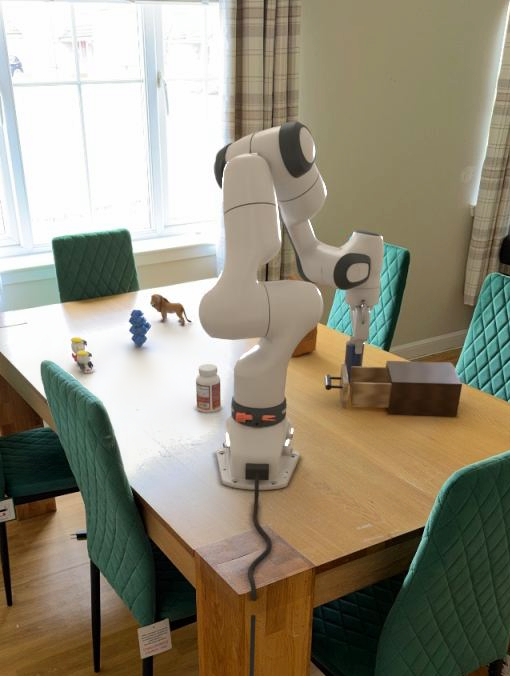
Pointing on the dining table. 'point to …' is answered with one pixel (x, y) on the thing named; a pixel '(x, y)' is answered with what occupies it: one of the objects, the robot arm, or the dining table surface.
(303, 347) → the coffee package
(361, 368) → the drawer
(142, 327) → the grapes
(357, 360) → the pepper mill
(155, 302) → the lion figurine
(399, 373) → the cabinet
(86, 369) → the toy figures
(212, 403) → the pill bottle
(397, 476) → the dining table surface
